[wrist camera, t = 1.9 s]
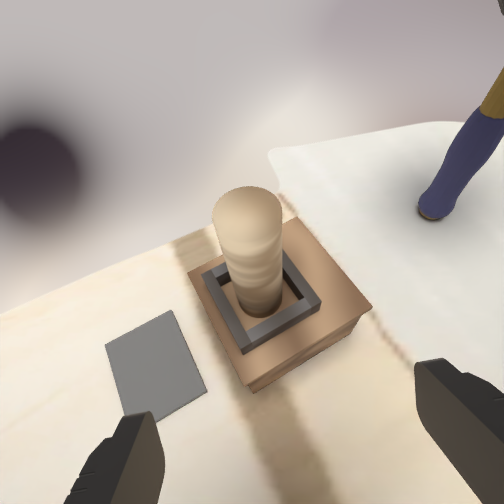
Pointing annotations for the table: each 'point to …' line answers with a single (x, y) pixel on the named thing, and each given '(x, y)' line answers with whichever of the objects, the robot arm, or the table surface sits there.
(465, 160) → the rubber mallet
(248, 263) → the wooden cylinder
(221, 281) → the wooden box
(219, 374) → the table surface
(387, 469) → the table surface
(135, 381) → the rubber mat
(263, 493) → the table surface
